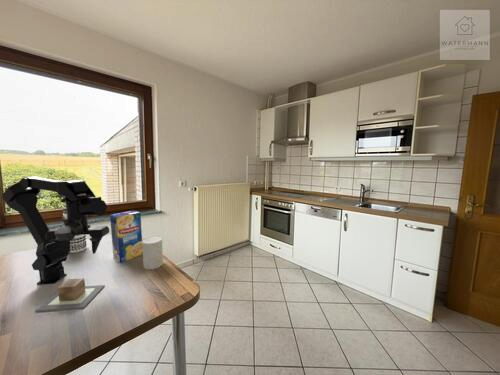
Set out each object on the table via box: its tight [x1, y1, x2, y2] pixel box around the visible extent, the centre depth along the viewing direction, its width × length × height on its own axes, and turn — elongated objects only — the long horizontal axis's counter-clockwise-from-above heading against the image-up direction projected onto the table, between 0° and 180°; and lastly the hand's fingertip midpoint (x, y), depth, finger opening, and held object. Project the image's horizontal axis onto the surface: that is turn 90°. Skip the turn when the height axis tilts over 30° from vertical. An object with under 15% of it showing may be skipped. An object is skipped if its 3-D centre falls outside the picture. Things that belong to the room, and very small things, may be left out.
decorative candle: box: [61, 203, 88, 254], centre depth 110 cm, size 9×9×25 cm
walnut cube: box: [57, 277, 86, 301], centre depth 72 cm, size 5×5×5 cm
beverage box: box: [109, 210, 143, 263], centre depth 102 cm, size 7×11×22 cm, turn 145°
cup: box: [142, 236, 164, 270], centre depth 95 cm, size 8×8×12 cm
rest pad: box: [34, 284, 106, 313], centre depth 72 cm, size 14×12×1 cm
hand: (81, 254), depth 79 cm, fingers open, 9 cm apart
